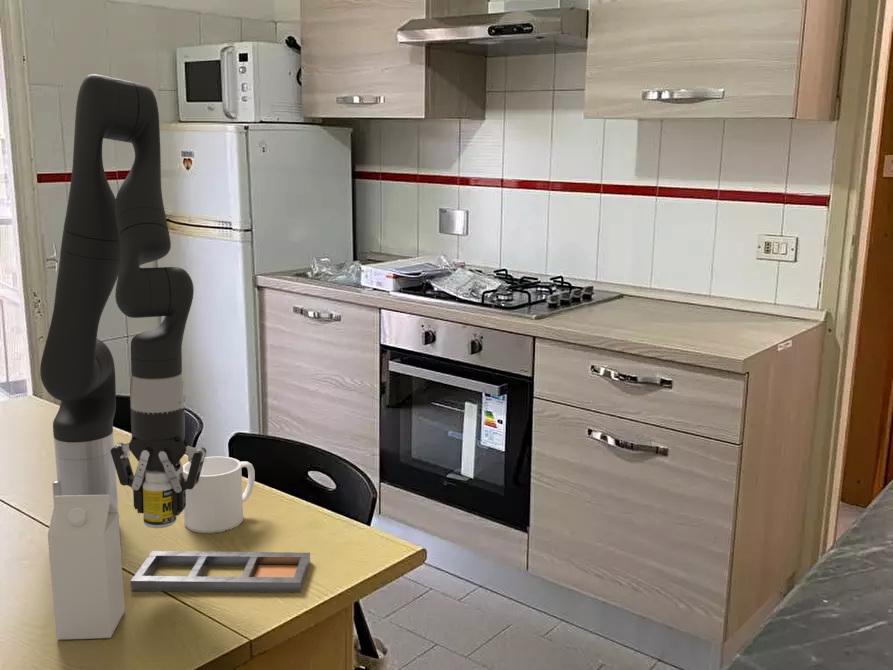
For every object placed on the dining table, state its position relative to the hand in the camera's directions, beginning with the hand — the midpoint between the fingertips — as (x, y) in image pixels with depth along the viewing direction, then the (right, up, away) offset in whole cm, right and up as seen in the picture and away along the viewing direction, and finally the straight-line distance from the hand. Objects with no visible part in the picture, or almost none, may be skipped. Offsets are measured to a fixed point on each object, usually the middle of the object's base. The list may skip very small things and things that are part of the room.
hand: (160, 511), depth 135 cm
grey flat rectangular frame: (+9, -10, +3) cm, 14 cm away
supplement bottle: (0, -2, 0) cm, 2 cm away
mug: (+3, -6, +23) cm, 25 cm away
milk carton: (-6, -14, -12) cm, 19 cm away
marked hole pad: (+17, -11, +3) cm, 20 cm away
